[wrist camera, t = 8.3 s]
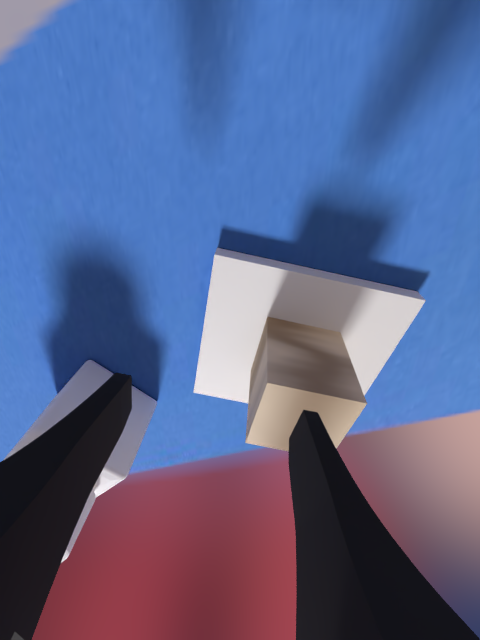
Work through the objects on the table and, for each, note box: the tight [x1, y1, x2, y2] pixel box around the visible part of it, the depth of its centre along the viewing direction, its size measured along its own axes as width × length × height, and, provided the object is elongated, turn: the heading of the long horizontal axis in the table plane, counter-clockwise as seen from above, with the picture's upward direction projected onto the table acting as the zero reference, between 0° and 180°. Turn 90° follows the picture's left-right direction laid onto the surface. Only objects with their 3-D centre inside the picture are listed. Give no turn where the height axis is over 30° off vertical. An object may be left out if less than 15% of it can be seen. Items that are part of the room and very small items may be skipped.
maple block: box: [246, 317, 367, 451], centre depth 18 cm, size 5×5×6 cm
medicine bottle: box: [4, 360, 157, 562], centre depth 21 cm, size 7×7×12 cm
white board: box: [194, 248, 426, 403], centre depth 21 cm, size 13×12×1 cm
